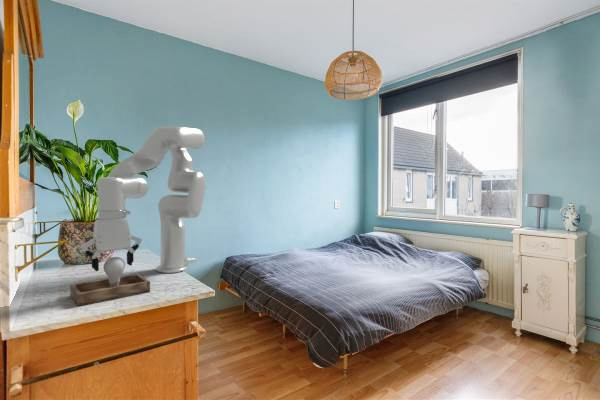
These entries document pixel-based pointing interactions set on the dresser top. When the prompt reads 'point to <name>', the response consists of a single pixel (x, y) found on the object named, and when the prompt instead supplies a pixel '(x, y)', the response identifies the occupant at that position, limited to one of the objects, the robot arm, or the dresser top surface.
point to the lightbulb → (114, 270)
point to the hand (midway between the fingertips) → (113, 267)
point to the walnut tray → (108, 289)
